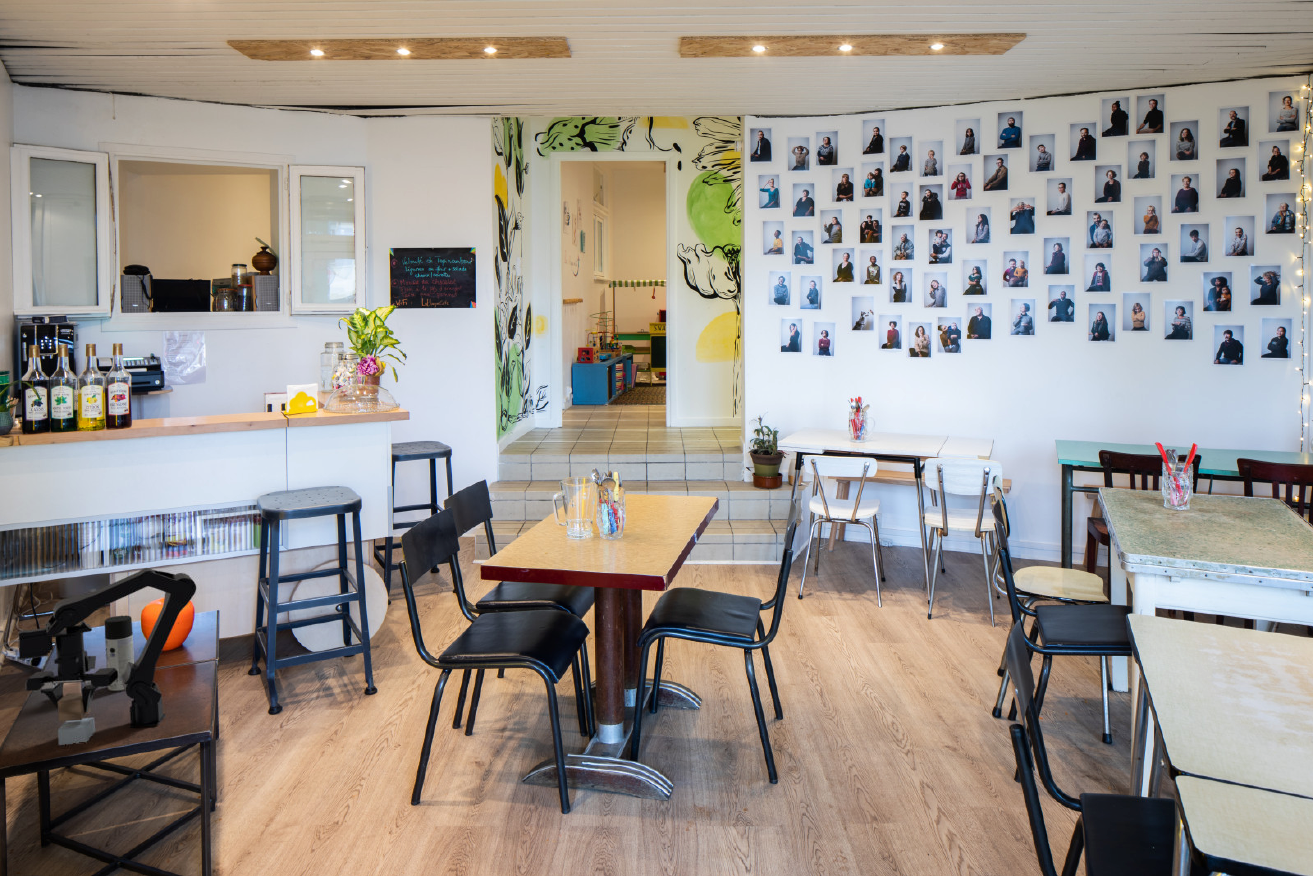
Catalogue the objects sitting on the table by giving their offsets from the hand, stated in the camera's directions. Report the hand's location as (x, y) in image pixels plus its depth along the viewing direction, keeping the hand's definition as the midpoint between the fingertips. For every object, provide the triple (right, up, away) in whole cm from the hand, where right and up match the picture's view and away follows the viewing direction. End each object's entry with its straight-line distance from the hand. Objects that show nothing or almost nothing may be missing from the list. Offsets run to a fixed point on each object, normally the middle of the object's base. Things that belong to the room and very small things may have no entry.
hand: (74, 712), depth 223 cm
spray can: (-8, -3, +33) cm, 34 cm away
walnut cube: (0, -1, 0) cm, 1 cm away
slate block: (0, -7, 0) cm, 7 cm away
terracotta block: (-17, -4, +25) cm, 31 cm away
